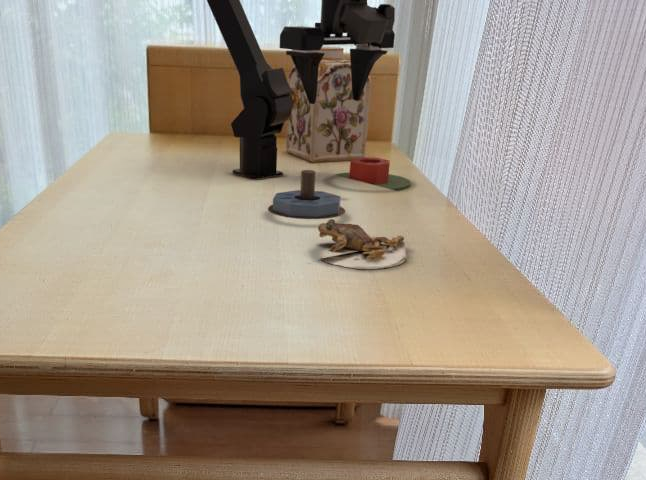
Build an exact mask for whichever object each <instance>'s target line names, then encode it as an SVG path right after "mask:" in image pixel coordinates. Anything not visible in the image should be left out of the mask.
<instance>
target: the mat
mask: <svg viewBox="0 0 646 480" xmlns="http://www.w3.org/2000/svg"><path fill="white" fill-rule="evenodd" d="M333 175H334V176H338V177H341V178H344V179H349V175H350V171H348V172H339V173H334V174H333ZM371 185H372V186H376V187H380V188H384V189H388V190H391V191H396V192H397V191H402V190H406V189H408V188H409V187H411V180H410V179H408V178H405V177H403V176H400V175H395V174H390V173H389V175H388V183H383V184H371Z"/></svg>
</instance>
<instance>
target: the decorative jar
mask: <svg viewBox="0 0 646 480" xmlns="http://www.w3.org/2000/svg"><path fill="white" fill-rule="evenodd" d="M319 53H325V54H324V56H323V58H322V60H321V62H320V63H319V67H318V83H317V96H316V102H315V104H310V103H309V101H308V98H307V95H306V93H305V90H304V87H303V84H302V81H301V79H300V76H299V73H298V71H297V69H296V67H295V64H294V65H293V67H292V68H291V69H290V72H289V74H288V84H289V86H290V88H291V89H292V90H293V91H294V93H291V96H292V99H293V108H292V112H291V115H290V117H289V118H288V119H287V120H286V132H285V133H286V134H285V135H286V137H285V139H286V140H285V144H286V145H285V147H286V149H285V150H286V152H287V153H288V154H290V155H294V156H295V157H299V158H301V159H304V160H305V161H308V162H310V163H324V162H341V161H342V162H343V161H351V159H352V158H361V157H365V154H366V146H367V136H368V127H369V113H370V111H369V110H370V99H371V86H372V85H371V84H372V78H371V76H370V75H369V76H368V79H367V82H366V84H365V87H364V89H363V92H362V95H361V97H360V100H359V101H355V100H353V94H352V81H351V62H350V58H344V47H340V46H322V48H321V49H320V50H319Z"/></svg>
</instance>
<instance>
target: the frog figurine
mask: <svg viewBox="0 0 646 480" xmlns="http://www.w3.org/2000/svg"><path fill="white" fill-rule="evenodd" d="M317 230H318V232H319V234H318V236H319V238H324V237H328V236H329V237H331V241H332V242H334V243H336V244H332V245H331V247H330V248H328V249H327V252H332V253H336V252H339V250H342V249H343V248H345V249H349V250H353V251H351V252H347V253H342V254H336V255H332V256H331V255H330V256H327V257H322V258H321V257H320V258H319V260H320V261H322V262H325V263H327V264H329V265H335V266H341V267H344V268H350V269H355V270H356V269H357V270H378V269H381V270H383V269H385V268H392V267H396V266H400V265H402V264H404V263H405V262H406V259H407V257H408V256H409V255H408V254H407V250H408V249H407V248H406V245H405V241H404V239H405V237H404V236H403V235H397V236H396V237H392V239H389V238H388V237H386V236H372V237H371V236H370V235H369V234H368V233H367V232H366V231H365V230H364V228H363V227H361V226H360V225H359V224H355V223H341V222H340V223H338V222H336V220H335V219H333V218H329V219H328V220H327V222H325V223H324V222H323V223H320V224H319V225H318V226H317ZM381 244H385V245H381Z"/></svg>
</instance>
